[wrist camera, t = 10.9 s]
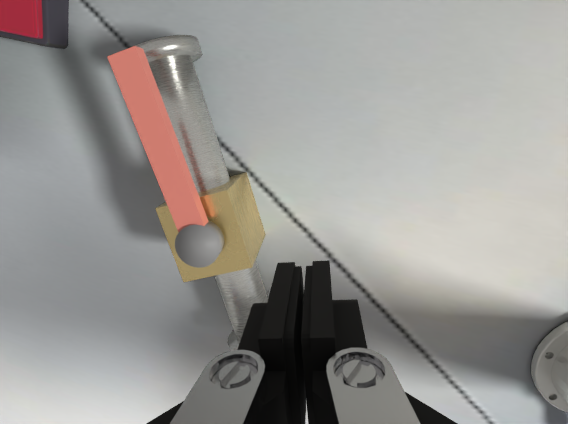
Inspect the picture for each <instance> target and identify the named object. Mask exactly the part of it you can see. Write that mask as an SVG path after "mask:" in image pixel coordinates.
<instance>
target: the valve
mask: <svg viewBox="0 0 568 424" xmlns="http://www.w3.org/2000/svg"><path fill="white" fill-rule="evenodd" d="M135 46H137V47H140V48H143V50H144V52H145V55H146V58H147V60H148V63H149V66H150V68H151V71H152V74H153V76H154V79H155V81H156V84H157V87H158V89H159V92H160V95H161V97H162V100H163V103H164V105H165V108H166V110H167V113H168V116H169V118H170V121H171V124H172V126H173V129H174V132H175V134H176V137H177V139H178V142H179V145H180V147H181V150H182V153H183V155H184V158H185V161H186V163H187V166H188V168H189V171H190V174H191V176H192V179H193V182H194V184H195V187H196V190H197V192H198V195H199V197H200V200H201V203H202V205H203V208H204V211H205V213H206V216H207V219H208V220H209V221H211V222H213V223H215V224H216V225H217V226H218V227H219V228H220V229H221V231H222V233H223V236H224V247H223V249H222V251H221V253H220V254H219V256H218V257H217V259H216V260H215V261H214V262H213V263H212V264H211V265H209V266H206V267H202V268H197V267H192V266H190V265H188V264H186V263H184V262H183V261H182V260H181V259H180V258H179V256H178V254H177V252H176V249H175V239H176V236H177V235H178V230H177V228H176V225H175V223H174V220H173V218H172V215H171V213H170V210H169V208H168V206H167V203H166V202H165V203H163V204H162V205H160V206H158V207H157V208H155V209H156V212H157V214H158V217H159V219H160V222H161V225H162V227H163V230H164V232H165V235H166V238H167V240H168V243H169V246H170V248H171V251H172V253H173V256H174V259H175V261H176V264H177V266H178V269H179V272H180V274H181V277H182V280H183V282H188V281H192V280H197V279H201V278H206V277H211V276H215V279H216V282H217V285H218V288H219V290H220V293H221V296H222V299H223V302H224V304H225V307H226V310H227V313H228V316H229V318H230V321H231V324H232V327H233V331H232V332H231V334H230V335H229V338H228V345H229V348H230V351H234V350H237V349H238V346H239V343H240V340H241V337H242V334H243V331H244V328H245V325H246V322H247V319H248V316H249V313H250V310H251V307H252V305H253V303H267V302H268V297H267V294H266V291H265V287H264V284H263V281H262V278H261V275H260V272H259V269H258V265H257V262H256V257H257V254H258V252H259V249H260V247H261V245H262V242H263V240H264V237H265V232H264V229H263V225H262V222H261V219H260V216H259V212H258V209H257V206H256V202H255V199H254V196H253V193H252V189H251V186H250V183H249V179H248V176H247V173H242V174H238V175H234V176H230V177H229V174H228V171H227V168H226V165H225V162H224V158H223V155H222V152H221V149H220V146H219V143H218V140H217V136H216V133H215V130H214V127H213V124H212V121H211V117H210V114H209V111H208V108H207V105H206V102H205V99H204V95H203V92H202V89H201V86H200V83H199V80H198V77H197V73H196V70H195V67H194V64H193V62H194V61H196V60H198V59H199V58H200V57H201V56H202V51H201V48H200V45H199V41H198V39H197V38H196V37H194V36H190V35H174V36H167V37H161V38H157V39H153V40H149V41H146V42H143V43H140V44H138V45H135Z"/></svg>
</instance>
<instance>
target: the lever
mask: <svg viewBox="0 0 568 424" xmlns="http://www.w3.org/2000/svg"><path fill="white" fill-rule="evenodd" d="M107 58H108V60H109V63H110V65H111V67H112V70H113V72H114V75H115V77H116V80H117V82H118V85H119V87H120V90H121V92H122V95H123V97H124V100H125V102H126V104H127V107H128V109H129V112H130V114H131V117H132V119H133V122H134V124H135V127H136V129H137V132H138V134H139V136H140V139H141V141H142V144H143V146H144V149H145V151H146V154H147V156H148V159H149V161H150V164H151V166H152V169H153V171H154V173H155V176H156V178H157V181H158V183H159V186H160V188H161V191H162V193H163V196H164V198H165V201H166V203H167V206H168V208H169V210H170V213H171V215H172V218H173V220H174V223H175V225H176V228H177V230H178V235H177V236H176V239H175V249H176V252H177V254H178V256H179V258H180V259H181V260H182V261H183V262H184V263H186V264H188V265H190V266H192V267H197V268H202V267H206V266H209V265H211V264H212V263H213V262H214V261H215V260H216V259H217V257H218V256H219V254H220V253H221V251H222V249H223V247H224V236H223V233H222V231H221V229H220V228H219V227H218V226H217V225H216V224H215V223H213V222H211V221H209V220H208V219H207V216H206V213H205V211H204V208H203V205H202V203H201V200H200V197H199V195H198V192H197V190H196V187H195V184H194V182H193V179H192V176H191V174H190V171H189V168H188V166H187V163H186V161H185V158H184V155H183V153H182V150H181V147H180V145H179V142H178V139H177V137H176V134H175V132H174V129H173V126H172V124H171V121H170V118H169V116H168V113H167V110H166V108H165V105H164V103H163V100H162V97H161V95H160V92H159V89H158V87H157V84H156V81H155V79H154V76H153V74H152V71H151V68H150V66H149V63H148V60H147V58H146V55H145V52H144V50H143V48H140V47H137V46H133V47H131V48H128V49H125V50H123V51H120V52H118V53H115V54H112V55H110V56H107Z"/></svg>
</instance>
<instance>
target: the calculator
mask: <svg viewBox="0 0 568 424" xmlns="http://www.w3.org/2000/svg"><path fill="white" fill-rule="evenodd" d="M68 6H69V0H0V37H5V38H9V39H14V40H19V41H24V42H28V43H33V44H38V45H43V46H48V47H55V48H62V49H65V48H67V46H68Z"/></svg>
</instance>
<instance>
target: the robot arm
mask: <svg viewBox="0 0 568 424" xmlns="http://www.w3.org/2000/svg"><path fill="white" fill-rule="evenodd" d="M531 375H532V379H533V382H534V384H535V386H536V388H537V390H538V391H539V392H540V393H541V395H542V396H543V397H544V399H546V400H547V401H548V402H549V403H550V404H551V405H553V406H554V407H556V408H558V409H559V410H562V411H564V412H567V413H568V321H567V322H565V323H563V324H562V325H560V326H559V327H557V328H555V329H554V330H553V331H552V332H550V333H549V334H548V335H547V336H546V337H545V338H544V339H543V340H542V342H541V343H540V344H539V345H538V347H537V349H536V351H535V353H534V355H533V359H532V363H531ZM306 400H307V411H308V422H309V424H457V423H455V422H454V421H452V420H450V419H449V418H447V417H446V416H444V415H442V414H441V413H439V412H437V411H436V410H434V409H432V408H431V407H429V406H427V405H426V404H424V403H422V402H421V401H419V400H417V399H416V398H414V397H413V396H411V395H409V394H408V393H406V392H404V390H403V388H402V386H401V384H400V382H399V380H398V378H397V376H396V374H395V372H394V370H393V368H392V366H391V364H390V363H389V362H388V360H387V359H386V358H385V357H384V356H382V355H381V354H379V353H378V352H375V351H373V350H370V349H367V345H366V340H365V335H364V330H363V325H362V320H361V315H360V311H359V306H358V301H357V300H332V291H331V277H330V263H329V261H313V265H312V266H306V276H305V290H304V289H303V278H302V268H301V266H297V267H295V262H289V263H278V264H277V268H276V271H275V275H274V279H273V283H272V287H271V291H270V295H269V298H268V302H267V303H253V305H252V307H251V310H250V313H249V316H248V319H247V322H246V325H245V328H244V331H243V334H242V337H241V340H240V343H239V346H238V349H237V350H234V351H229V352H226V353H224V354H221V355H219V356H217V357H216V358H215V359H213V360H212V361H211V362H210V363H209V364H208V365H207V366H206V367H205V369H204V371H203V372H202V374H201V375H200V377H199V378H198V380H197V382H196V383H195V385H194V386H193V388H192V389H191V391H190V393H189V394H188V396H187V397H186V399H185V400H184V401H183V402H182V403H180V404H178V405H177V406H175V407H173V408H172V409H170V410H168V411H167V412H165V413H163V414H162V415H160V416H158V417H157V418H155V419H153V420H152V421H150V422H148V423H147V424H305V413H306Z"/></svg>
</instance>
